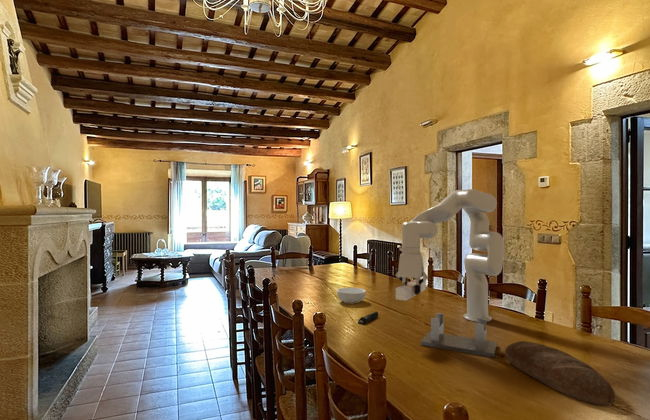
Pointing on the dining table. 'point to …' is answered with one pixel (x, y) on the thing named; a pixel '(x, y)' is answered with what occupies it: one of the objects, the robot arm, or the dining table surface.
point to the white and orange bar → (408, 290)
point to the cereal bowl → (351, 295)
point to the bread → (561, 372)
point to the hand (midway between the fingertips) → (411, 292)
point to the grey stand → (459, 339)
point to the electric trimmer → (367, 318)
